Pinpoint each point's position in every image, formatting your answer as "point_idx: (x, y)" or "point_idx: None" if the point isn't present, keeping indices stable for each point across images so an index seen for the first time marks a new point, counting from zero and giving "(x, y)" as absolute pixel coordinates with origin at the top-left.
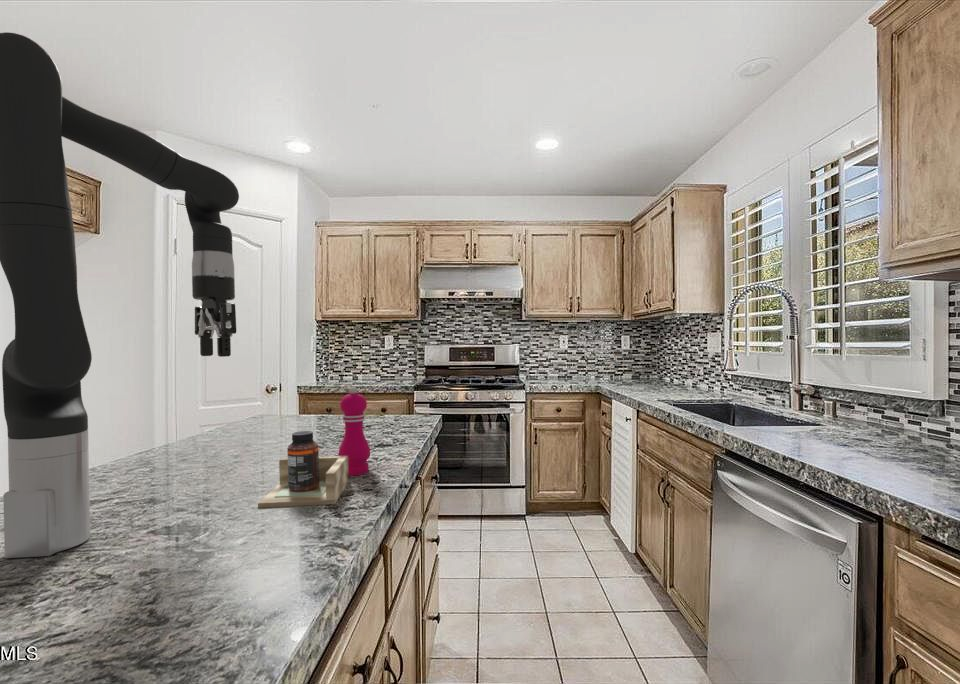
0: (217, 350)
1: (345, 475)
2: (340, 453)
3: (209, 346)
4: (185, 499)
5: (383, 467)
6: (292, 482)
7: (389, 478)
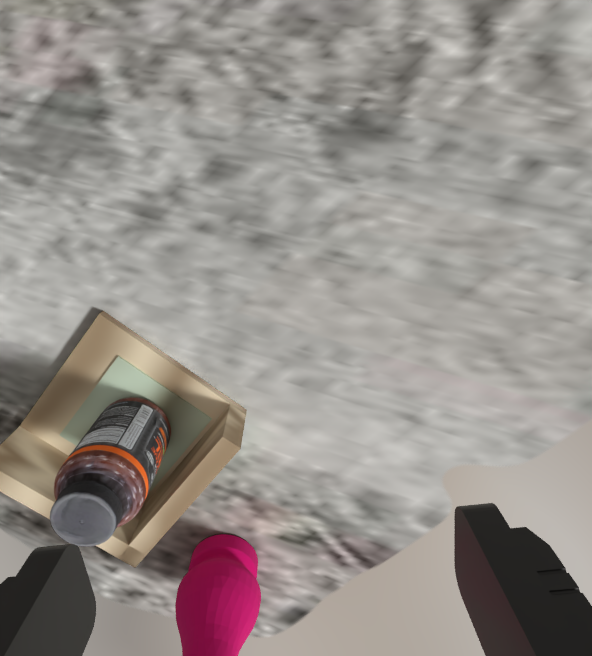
0: (47, 581)
1: None
2: (216, 573)
3: (492, 641)
4: (305, 200)
5: None
6: (112, 408)
7: (118, 583)
